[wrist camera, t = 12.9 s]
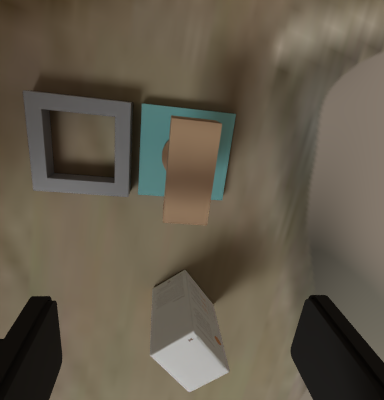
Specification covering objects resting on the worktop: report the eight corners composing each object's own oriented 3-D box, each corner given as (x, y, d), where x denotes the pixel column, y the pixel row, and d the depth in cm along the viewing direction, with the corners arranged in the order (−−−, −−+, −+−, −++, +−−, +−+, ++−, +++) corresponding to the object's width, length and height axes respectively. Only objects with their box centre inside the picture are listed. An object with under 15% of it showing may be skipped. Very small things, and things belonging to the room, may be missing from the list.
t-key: (165, 111, 28) (165, 117, 21) (211, 116, 29) (228, 124, 21) (159, 191, 31) (157, 222, 24) (201, 195, 32) (212, 225, 24)
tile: (138, 191, 32) (138, 194, 31) (142, 103, 28) (141, 103, 28) (220, 197, 33) (222, 200, 32) (233, 113, 30) (236, 114, 29)
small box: (151, 287, 37) (147, 355, 28) (185, 267, 37) (193, 330, 27) (182, 322, 40) (188, 395, 30) (214, 304, 40) (230, 373, 30)
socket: (41, 184, 31) (33, 190, 29) (32, 90, 27) (22, 90, 25) (130, 190, 32) (128, 196, 30) (133, 102, 28) (130, 102, 26)
